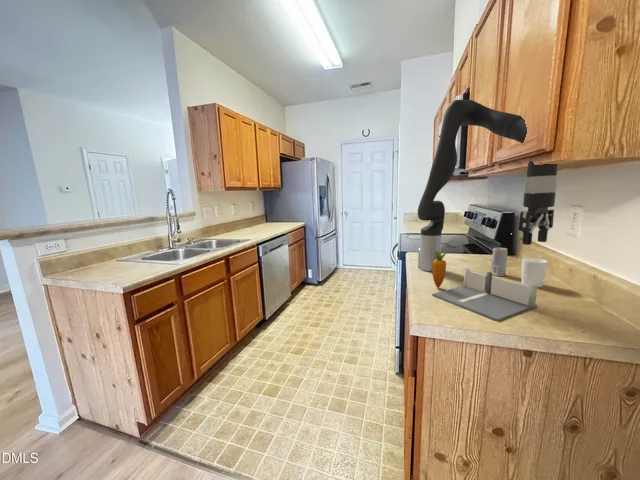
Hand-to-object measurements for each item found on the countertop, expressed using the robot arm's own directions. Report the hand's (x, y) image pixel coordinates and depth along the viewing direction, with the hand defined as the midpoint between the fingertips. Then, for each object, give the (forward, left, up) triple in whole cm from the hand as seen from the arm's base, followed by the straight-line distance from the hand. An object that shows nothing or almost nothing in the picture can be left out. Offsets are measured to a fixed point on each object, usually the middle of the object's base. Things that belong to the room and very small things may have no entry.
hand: (534, 243), depth 84 cm
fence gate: (-3, -3, -19) cm, 20 cm away
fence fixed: (-15, -3, -20) cm, 25 cm away
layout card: (-9, -10, -20) cm, 25 cm away
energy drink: (-23, +24, -21) cm, 39 cm away
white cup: (-9, +22, -21) cm, 31 cm away
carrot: (-25, -12, -21) cm, 35 cm away
